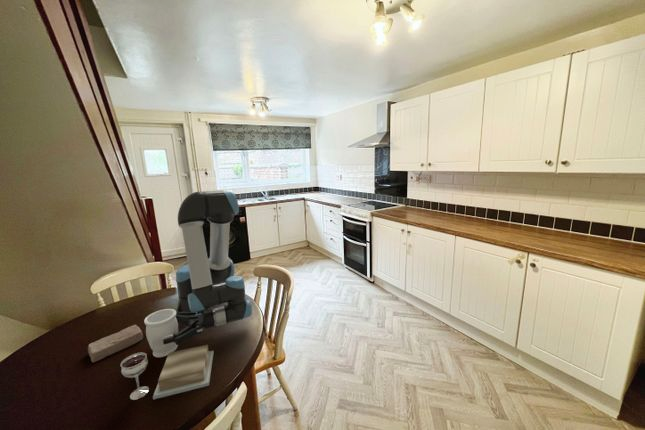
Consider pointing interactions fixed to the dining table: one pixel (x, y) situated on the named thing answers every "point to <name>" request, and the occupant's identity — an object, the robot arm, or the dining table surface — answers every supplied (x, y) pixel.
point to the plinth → (184, 368)
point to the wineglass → (135, 372)
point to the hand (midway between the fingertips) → (154, 333)
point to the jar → (161, 330)
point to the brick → (114, 343)
